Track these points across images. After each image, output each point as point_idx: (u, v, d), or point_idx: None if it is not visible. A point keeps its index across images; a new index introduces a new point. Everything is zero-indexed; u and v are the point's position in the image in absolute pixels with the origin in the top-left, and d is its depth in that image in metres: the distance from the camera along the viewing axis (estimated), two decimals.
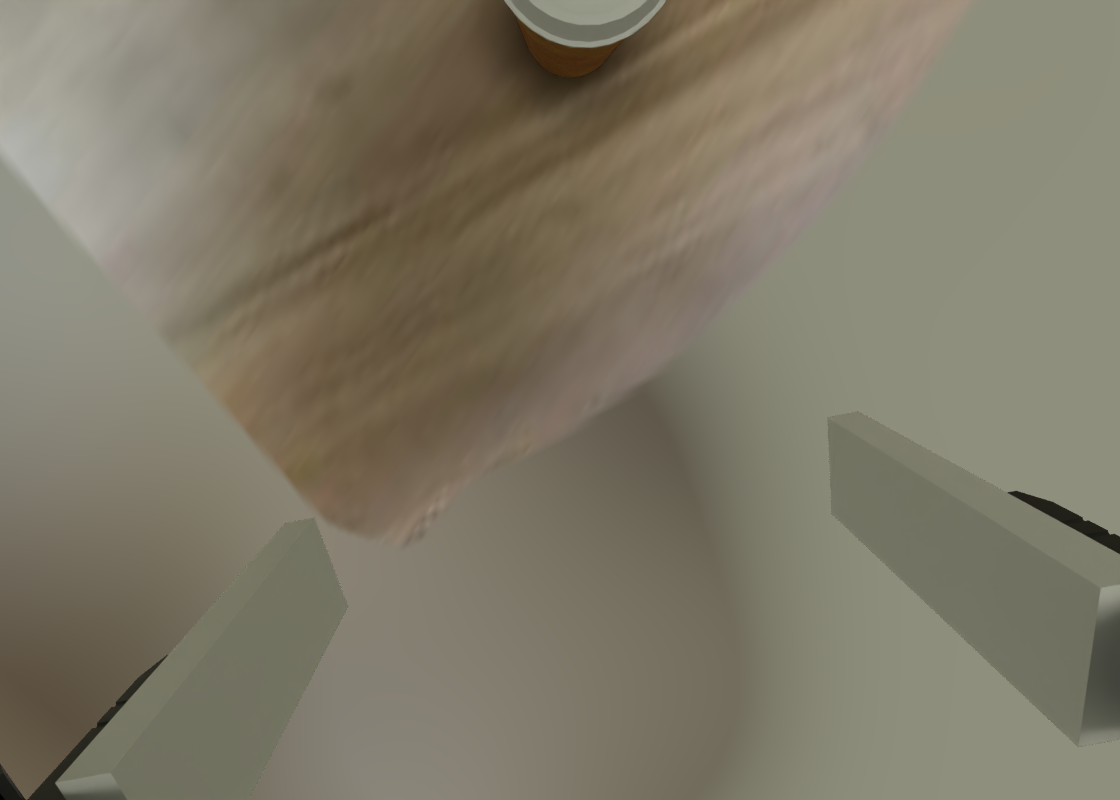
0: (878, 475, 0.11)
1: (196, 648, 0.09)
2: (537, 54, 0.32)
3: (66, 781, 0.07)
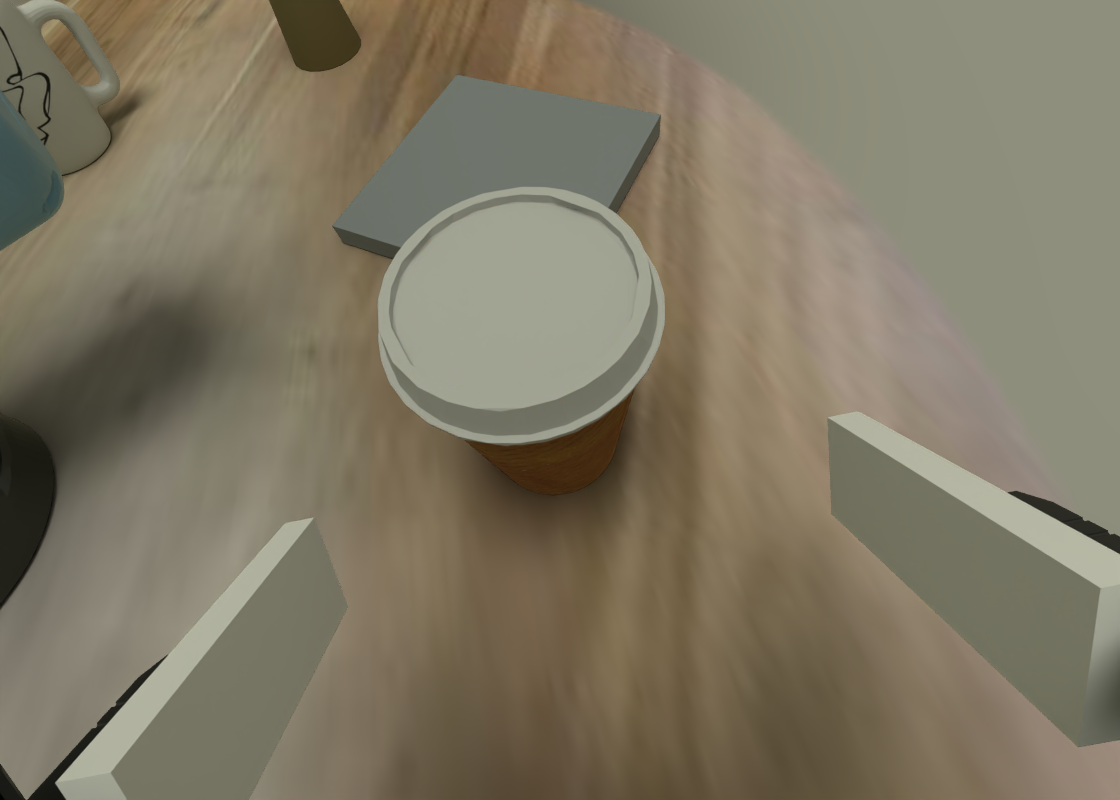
0: (878, 475, 0.11)
1: (196, 648, 0.09)
2: (566, 480, 0.23)
3: (66, 781, 0.07)
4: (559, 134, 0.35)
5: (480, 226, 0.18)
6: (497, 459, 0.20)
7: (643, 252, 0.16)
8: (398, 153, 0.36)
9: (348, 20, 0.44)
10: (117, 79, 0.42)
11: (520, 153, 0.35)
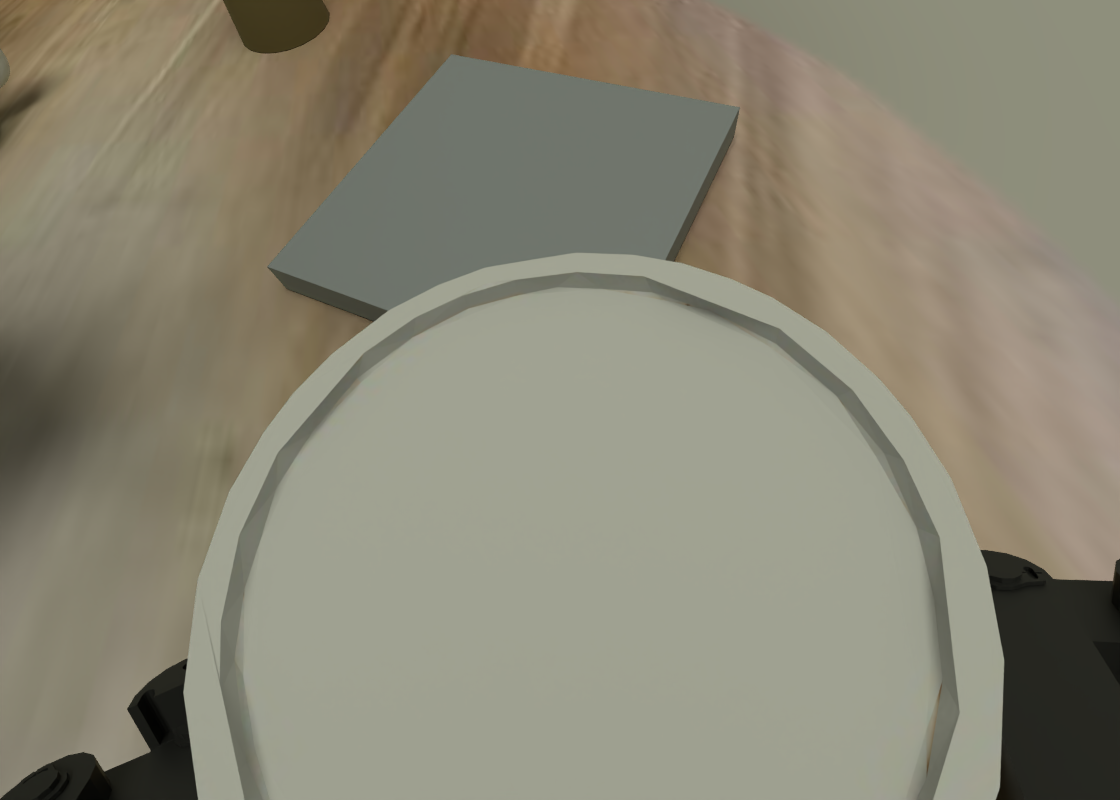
0: None
1: None
2: None
3: None
4: (595, 135, 0.25)
5: (478, 348, 0.08)
6: None
7: (933, 458, 0.06)
8: (367, 161, 0.26)
9: None
10: (4, 62, 0.32)
11: (540, 161, 0.24)
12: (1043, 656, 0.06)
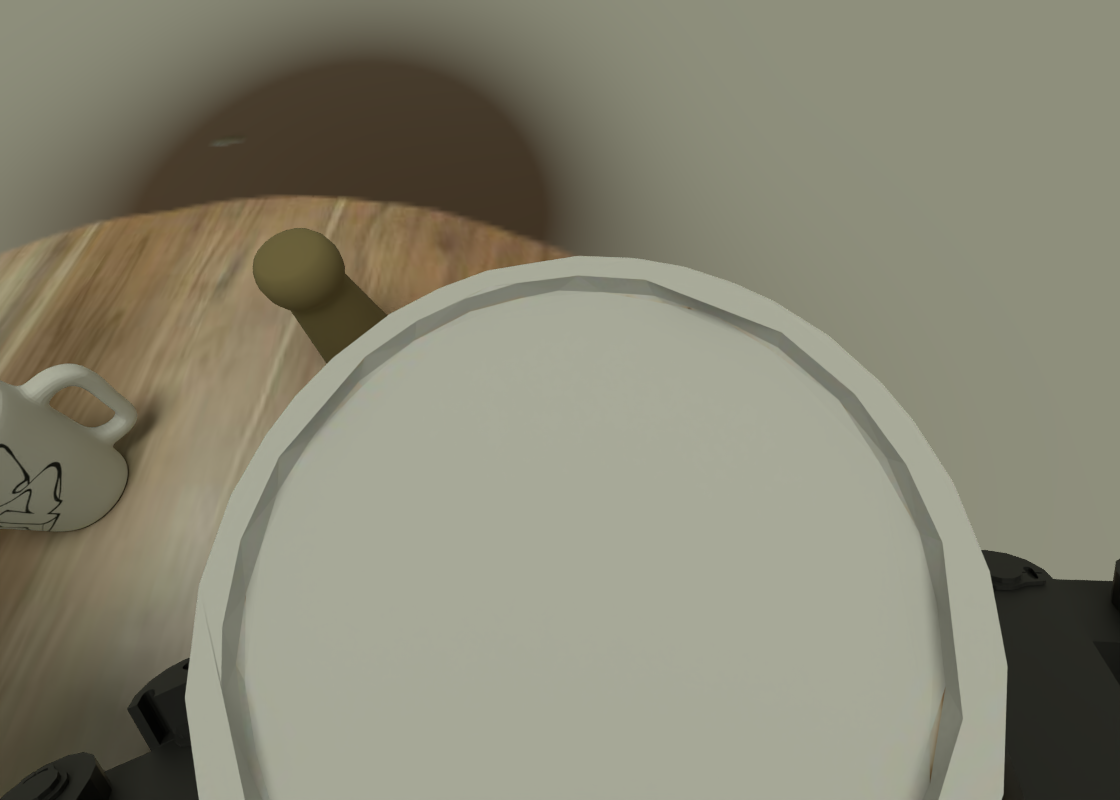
0: None
1: None
2: None
3: None
4: None
5: (480, 352, 0.08)
6: None
7: (936, 463, 0.06)
8: None
9: None
10: (134, 413, 0.37)
11: None
12: (1043, 656, 0.06)
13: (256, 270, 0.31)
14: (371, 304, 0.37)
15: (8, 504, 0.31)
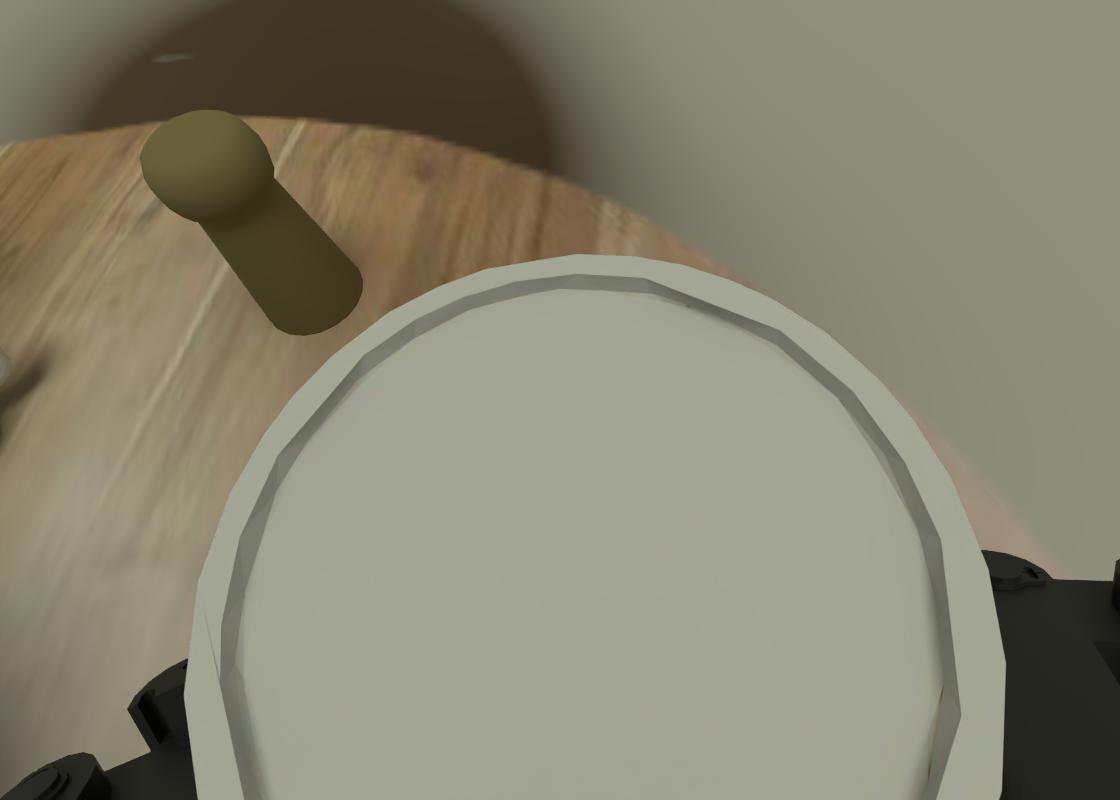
0: None
1: None
2: None
3: None
4: None
5: (479, 350, 0.08)
6: None
7: (934, 461, 0.06)
8: None
9: (344, 266, 0.30)
10: (5, 362, 0.29)
11: None
12: (1043, 656, 0.06)
13: (142, 160, 0.22)
14: (316, 230, 0.28)
15: None
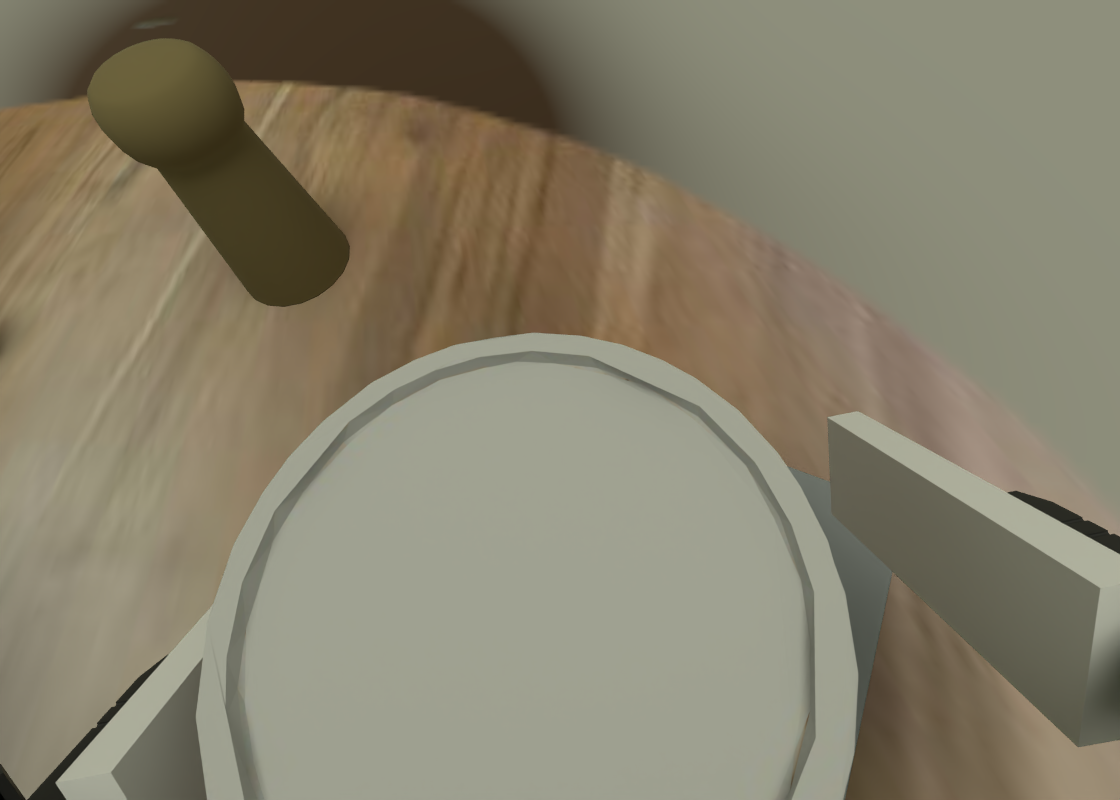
0: (878, 475, 0.11)
1: (196, 648, 0.09)
2: None
3: (66, 781, 0.07)
4: None
5: (448, 416, 0.09)
6: None
7: (815, 524, 0.07)
8: None
9: (328, 229, 0.28)
10: None
11: None
12: None
13: (89, 92, 0.20)
14: (296, 185, 0.25)
15: None
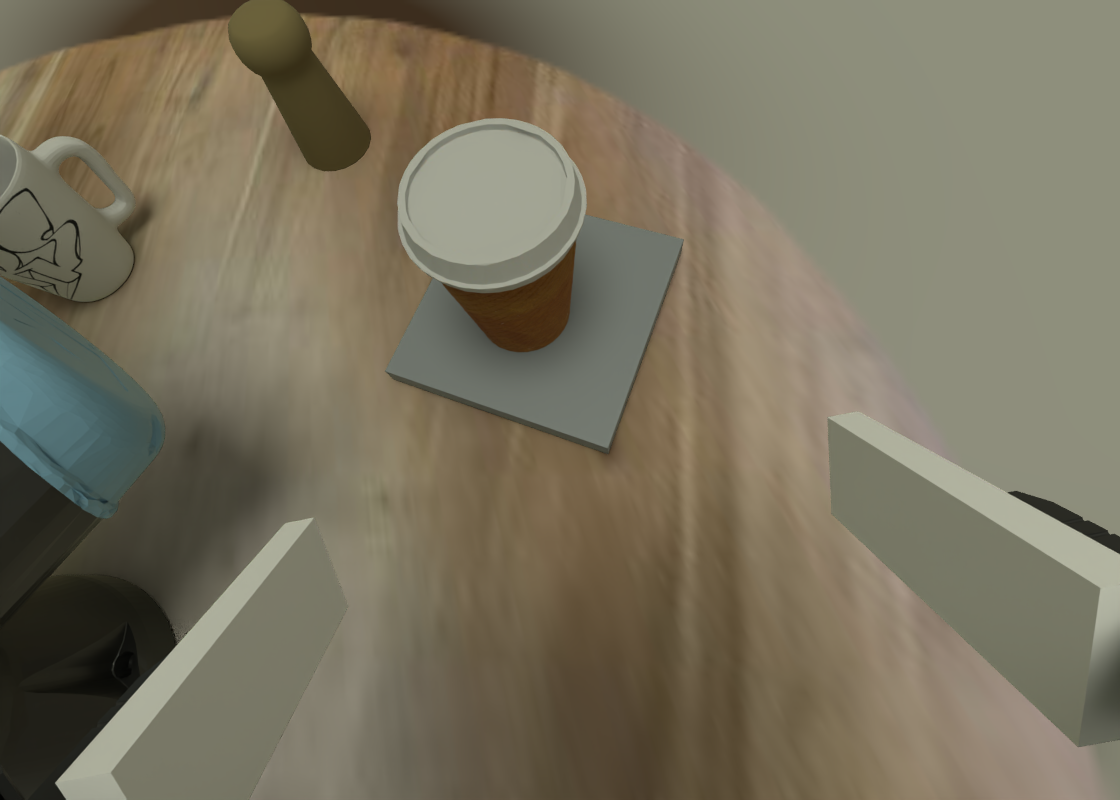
0: (877, 475, 0.11)
1: (196, 648, 0.09)
2: (532, 335, 0.32)
3: (66, 781, 0.07)
4: (589, 262, 0.37)
5: (460, 148, 0.26)
6: (483, 314, 0.29)
7: (569, 161, 0.25)
8: (435, 285, 0.38)
9: (358, 117, 0.43)
10: (132, 197, 0.42)
11: None
12: None
13: (232, 32, 0.35)
14: (338, 87, 0.41)
15: (38, 250, 0.36)
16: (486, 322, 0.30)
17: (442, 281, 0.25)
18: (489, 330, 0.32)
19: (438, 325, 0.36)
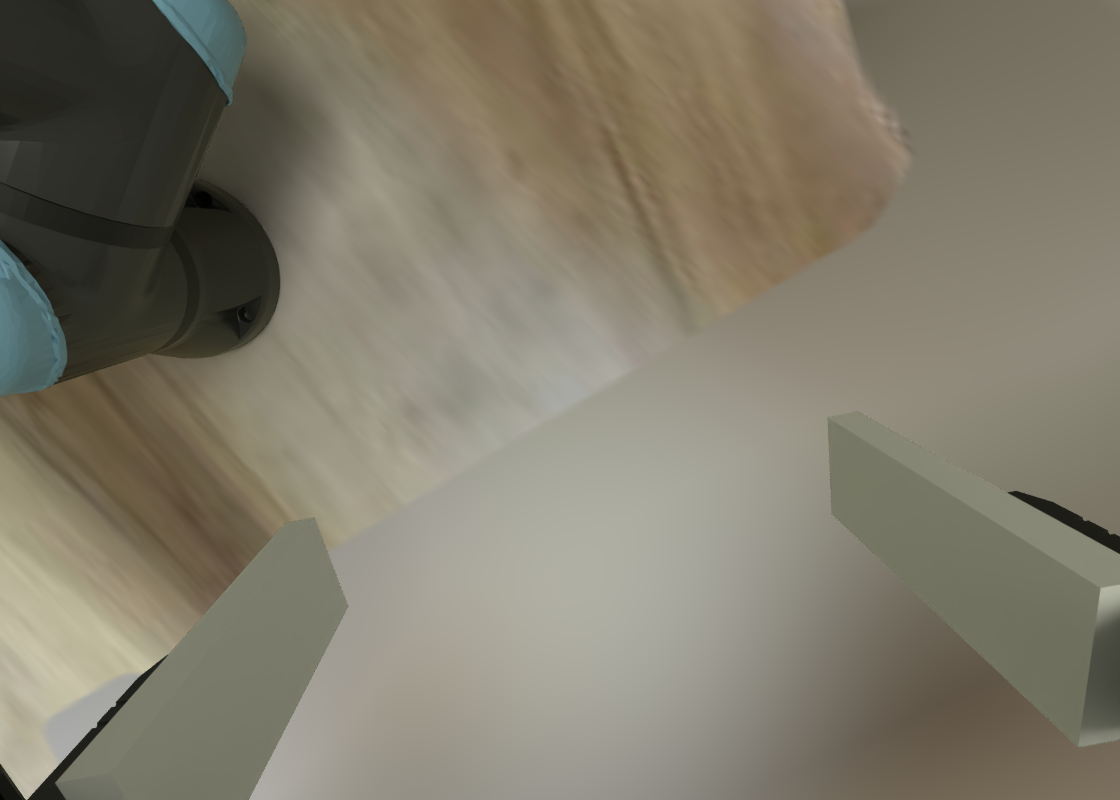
0: (878, 475, 0.11)
1: (196, 648, 0.09)
2: None
3: (66, 781, 0.07)
4: None
5: None
6: None
7: None
8: None
9: None
10: None
11: None
12: None
13: None
14: None
15: None
16: None
17: None
18: None
19: None
